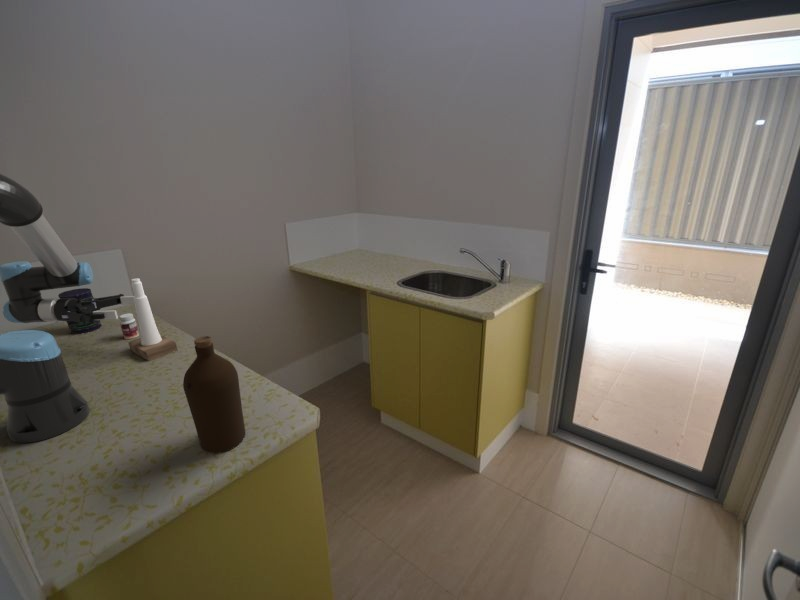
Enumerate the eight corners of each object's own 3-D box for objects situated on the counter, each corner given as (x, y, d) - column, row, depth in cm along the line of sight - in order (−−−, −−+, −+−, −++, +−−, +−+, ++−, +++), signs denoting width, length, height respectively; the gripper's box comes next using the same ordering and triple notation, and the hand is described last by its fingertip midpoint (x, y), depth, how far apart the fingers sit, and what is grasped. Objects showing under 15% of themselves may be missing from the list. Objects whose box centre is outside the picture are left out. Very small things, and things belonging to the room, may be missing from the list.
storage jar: (101, 321, 158) (90, 286, 153) (103, 329, 151) (92, 292, 146) (69, 328, 152) (57, 292, 147) (70, 336, 145) (57, 298, 140)
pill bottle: (120, 338, 142) (114, 317, 139) (132, 333, 147) (126, 312, 144) (130, 340, 141) (124, 318, 138) (142, 334, 145) (136, 313, 142)
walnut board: (177, 350, 132) (175, 342, 131) (148, 361, 125) (146, 352, 124) (158, 340, 140) (156, 332, 139) (130, 350, 133) (128, 342, 132)
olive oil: (241, 453, 85) (220, 349, 76) (189, 457, 84) (163, 352, 75) (253, 422, 94) (236, 327, 86) (207, 426, 94) (186, 330, 85)
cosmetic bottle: (139, 341, 132) (122, 279, 125) (160, 336, 136) (144, 275, 128) (142, 347, 128) (125, 283, 120) (163, 342, 131) (148, 279, 124)
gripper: (91, 306, 140) (152, 304, 141) (33, 336, 116) (107, 333, 117) (85, 286, 137) (147, 284, 138) (25, 313, 114) (100, 310, 115)
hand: (129, 306), depth 128 cm, fingers open, 13 cm apart
